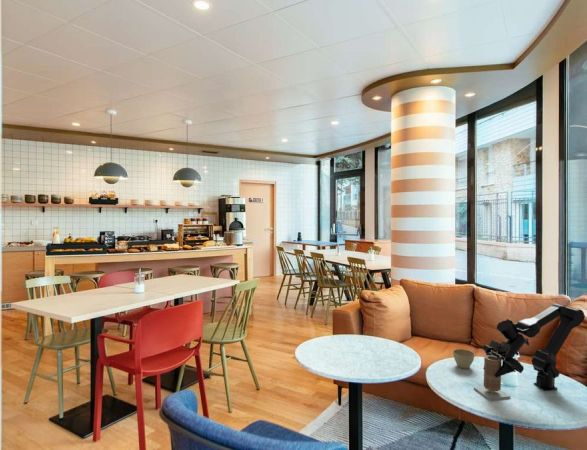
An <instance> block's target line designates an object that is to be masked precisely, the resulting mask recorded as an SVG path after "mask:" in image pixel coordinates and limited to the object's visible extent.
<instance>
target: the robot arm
mask: <svg viewBox="0 0 587 450" xmlns="http://www.w3.org/2000/svg"><path fill="white" fill-rule="evenodd" d="M557 318H559V323H558V325H557V326H556V328H555V329H554V332H553V333H552V335H551V337H550V338H549V340H548V342H547V344H546V345H545V347H544V348H543V349H542V350H539V349H536V350H535V352H534V354H533V355H531V357H532V359H531V363H532V364H531V365H532V366H533V370H534V371H536V372H537V373H536V381H535V382H534V383H533V385H535V386H536V387H538V388H540V389H542V390H544V391H551V390H552V391H553V390H558V387H557V386H555V381H556V380H555V379H557V378H558V377H560V374H561V372H560V370H558V368H557V367H556V366H557V355H558V353H559V352H560V350H561V348H562V347H563V345H564V343H565V342H566V340H567V338H568V337H569V335H570V333H571V332H572V330H573V329H574V328H575V329H576V327H579V326H580V325H581V324H582V322H583V321H584V320H585V318H586V316H585V313H584V311H583V310H582V309H579V308H575V307H572V306H568V305H566V306H565V305H562V304H560V303H552V304H551V305H550V306H549V307H548V308H546V309H545V310H543V311H541V312H540V313H538V314H536V315H534V316H533V317H530V318H523V319H521V320H519V321H518V322H516V323H513V321H512V320H511V319H508V318H507V319H506V320H502V321H500V322H498V324H497V325H496V329H497V331H498V333H500V335H502V336H503V338H505V339H506V341H501V342H499V341H496V340H494V339H490V342H489V344H485V345H483V346H482V348H481V349H482V350H483V351H484V353H485V356H487V355H490V356H496V357H499V358H500V359H501V367H500V369H499V370H498V371H497V373H496V374H495V377H499V376H501V377H502V376H504V375H507V374H511V373H516V372H517V373H519V374H522V372H523V371H524V365H523V364H522V363H521V362H520V361H519V360H518V359H516V358H514V357H515V356H519V355H520V352H519V351H520V349H522V347H523V346H524V345H526V346H530V342H529V339H530V338H531V339H532V338H535V336H537V335H538V334H539V333H540V332H541V328H543V327H544V326H546V325H548V324H549V323H550V322H553V321H554V320H555V319H557ZM483 370H484V367H483Z"/></svg>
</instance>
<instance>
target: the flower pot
mask: <svg viewBox="0 0 587 450" xmlns="http://www.w3.org/2000/svg"><path fill="white" fill-rule="evenodd" d="M452 354H453V358H454V362H455V364H456V365H457V367H458V368H461V369H465V370H466V369H469V368H470V366H471V365H472V364H473V363H474V359H475V356H476V354H475V353H474V352H473V351H471V350H468V349H464V348H455V349H453V351H452Z"/></svg>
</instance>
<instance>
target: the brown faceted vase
mask: <svg viewBox="0 0 587 450" xmlns="http://www.w3.org/2000/svg"><path fill="white" fill-rule="evenodd" d="M483 358H484V359H483V360H484V362H483V368H484V369H483V386H484V387H485V389H488V390H490V391H499V390H502V389H501V387H502V386H501V385H502V376H499V377H495V374H496V373H497V371H498V370H499V369H500V367H501V366H502V360H501V359H500V358H499V357H496V356H490V355H485V356H484V357H483Z"/></svg>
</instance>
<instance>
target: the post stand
mask: <svg viewBox="0 0 587 450" xmlns="http://www.w3.org/2000/svg"><path fill="white" fill-rule="evenodd" d="M473 390H474V391H476V392H477V393H479V394H480V395H481V396H482V397H483V398H485V399H486V400H488V401H498V400H505V399H506V400H507V399H511V395H509V394H507V393H506V392H505V391H503V390H502V389H501V390H499V391H490V390H488V389H485V387H484V385H482V386H475V387H473Z"/></svg>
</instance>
